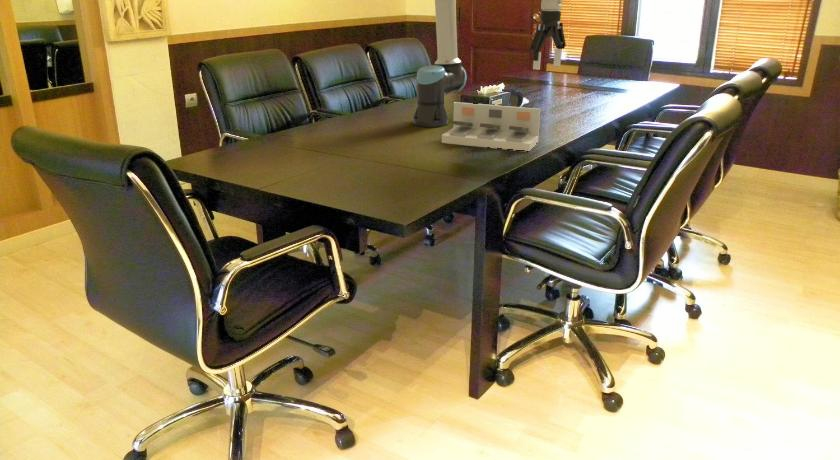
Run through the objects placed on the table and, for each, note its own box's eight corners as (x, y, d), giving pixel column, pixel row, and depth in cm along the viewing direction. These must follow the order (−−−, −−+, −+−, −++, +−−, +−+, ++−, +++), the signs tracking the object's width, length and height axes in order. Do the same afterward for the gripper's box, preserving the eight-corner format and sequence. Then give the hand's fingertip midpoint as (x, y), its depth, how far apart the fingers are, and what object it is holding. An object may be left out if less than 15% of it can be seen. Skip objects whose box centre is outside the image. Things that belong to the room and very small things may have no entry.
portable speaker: (480, 115, 289) (481, 93, 285) (469, 111, 297) (469, 90, 293) (526, 110, 299) (527, 88, 296) (514, 106, 308) (515, 85, 304)
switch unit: (441, 142, 245) (442, 108, 240) (453, 134, 257) (454, 102, 252) (529, 151, 233) (531, 116, 228) (538, 142, 245) (540, 108, 240)
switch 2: (479, 126, 238) (480, 122, 238) (487, 127, 247) (487, 124, 247) (492, 127, 236) (493, 124, 236) (499, 129, 246) (500, 125, 245)
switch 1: (452, 124, 242) (452, 120, 242) (460, 125, 251) (460, 121, 251) (464, 125, 240) (464, 121, 240) (472, 126, 249) (472, 122, 249)
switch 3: (508, 129, 234) (509, 125, 234) (515, 130, 243) (515, 126, 243) (522, 130, 232) (522, 126, 232) (528, 131, 242) (528, 127, 241)
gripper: (539, 12, 232) (535, 71, 240) (577, 9, 248) (572, 65, 256) (522, 11, 237) (519, 69, 245) (561, 8, 253) (557, 63, 261)
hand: (546, 67), depth 251 cm, fingers open, 13 cm apart
